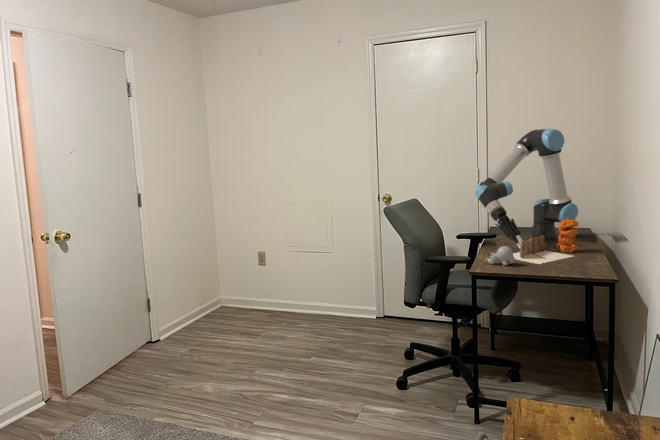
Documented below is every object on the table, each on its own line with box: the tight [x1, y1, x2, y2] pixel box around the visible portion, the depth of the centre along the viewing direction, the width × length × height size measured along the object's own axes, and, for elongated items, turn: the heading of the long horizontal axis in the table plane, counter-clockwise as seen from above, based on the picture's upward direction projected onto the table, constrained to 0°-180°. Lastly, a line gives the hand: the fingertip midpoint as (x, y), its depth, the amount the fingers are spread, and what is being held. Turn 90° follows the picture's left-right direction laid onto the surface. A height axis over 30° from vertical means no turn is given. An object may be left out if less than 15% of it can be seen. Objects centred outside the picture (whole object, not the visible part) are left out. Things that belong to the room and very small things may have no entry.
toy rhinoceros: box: [486, 245, 516, 267], centre depth 235 cm, size 7×12×8 cm, turn 66°
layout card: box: [513, 250, 575, 265], centre depth 250 cm, size 22×26×1 cm
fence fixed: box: [529, 235, 546, 254], centre depth 257 cm, size 11×2×8 cm, turn 126°
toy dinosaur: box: [555, 217, 579, 254], centre depth 258 cm, size 11×11×18 cm
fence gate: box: [519, 238, 533, 258], centre depth 248 cm, size 13×2×8 cm, turn 139°
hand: (523, 247), depth 251 cm, fingers closed
